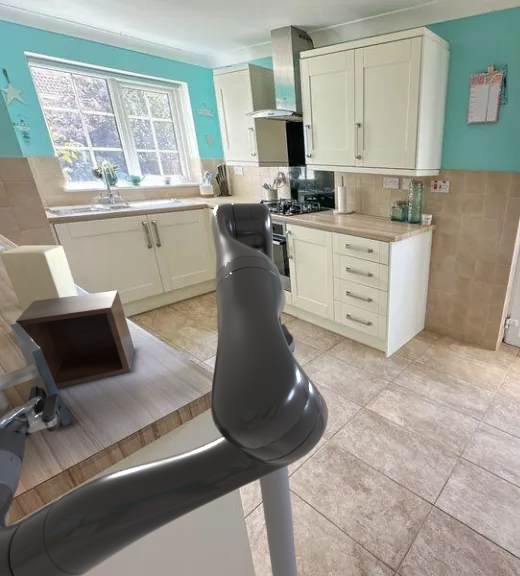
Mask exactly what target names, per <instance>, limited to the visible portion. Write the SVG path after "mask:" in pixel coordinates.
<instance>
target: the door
mask: <svg viewBox="0 0 520 576" xmlns="http://www.w3.org/2000/svg"><path fill="white" fill-rule="evenodd" d="M9 326H10V329H11V331H12V334H13V336H14V337H15V340H16V342H17V345H18V346H19V349H20V351H21V353H22V356H23V358H24V361H25V362H26V364H27V365H26V366H24V367H21V368H18V369H15V370H12V371H9V372H6V373H3V374H0V417H3V416H5V415H6V414H7V413H9V412H10V411H11V410H12V409H11V407H10V404H9V402H8V400H7V398H6V396H5V393H4V392H3V390H6V389H8V388H12V387H14V386H17V385H20V384H23V383H26V382H29V381H31V380H33V381H34V383H35V385H36V386H38V388H43V389H44V391H45V393H46V395H47V396H46V398H47V397H48V396H49V395H52V394H57V395H58V399H59V401H60V404H61V405H62V412H61V417H60V422H59V423H60V424H61V425H62V426H63V427H66V426H68V425H70V424H71V423H72V420H71V418H70V416H69V413H68V411H67V408H66V406H65V404H64V401H63V399H62V396H61V393H60V392H59V389H58V388H57V387H56V384H55V382H54V379H53V377H52V375H51V372H50V370H49V367H48V365H47V363H46V360H45V358H44V356H43V353H42V351H41V349H40V348H39V347H38V345H37V344H36V343H35V342H34V341H33V340H32V338H31V337H30V336H29V335H28V334H27V333H26V331H25V330H24V329H23V328H22V327H21V326H20V324H19V323H16V322H15V323H12V324H9ZM33 411H34V410H33V408H32V409H31V413H32V412H33ZM15 419H18V417H16V418H15ZM18 420H19V419H18Z"/></svg>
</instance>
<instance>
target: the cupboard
mask: <svg viewBox="0 0 520 576" xmlns="http://www.w3.org/2000/svg"><path fill="white" fill-rule="evenodd" d="M15 323H19V324H20V326H21V327H22V328H23V329H24V330H25V331H26V333H27V334H28V335H29V336H30V337H31V338H32V340H33V341H34V342H35V343H36V344H37V345H38V347H39V348H40V349H41V351H42V353H43V356H44V358H45V360H46V363H47V365H48V367H49V370H50V372H51V375H52V377H53V379H54V382H55V384H56V387H57V389H58V388H63V387H67V386H68V387H69V386H72V385H76V384H77V385H78V384H81V383H84V382H85V383H86V382H89V381H94V380H98V379H103V378H108V377H112V376H117V375H122V374H127V373H130V372H131V370H132V365H133V360H134V357H135V356H134V355H135V349H136V348H135V345H134V342H133V339H132V335H131V332H130V327H129V324H128V322H127V317H126V314H125V311H124V308H123V304H122V300H121V298H120V293H119V291H118V290H110V291H102V292H93V293H86V294H78V295H77V296H69V297H61V298H53V299H45V300H37V301H33V302H32V303H31V304H30V306H29V307H28V308H27V309H26V310H25V311H24V312H23V311H22V313H21V314H20V315H19V317H18V318H17V319H16V320H15Z"/></svg>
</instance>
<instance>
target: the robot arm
mask: <svg viewBox="0 0 520 576" xmlns="http://www.w3.org/2000/svg"><path fill="white" fill-rule="evenodd" d="M210 223H211V224H210V225H211V226H210V227H211V233H212V240H213V245H214V252H215V279H214V280H215V281H214V283H215V284H214V285H215V301H216V313H217V315H216V325H217V344H216V352H215V353H216V354H215V360H214V367H213V375H212V383H211V391H210V392H211V394H210V412H211V417H212V421H213V424H214V426H215V428H216V430H217V431H218V432H219V434H220V435H221V436H219V437H217V438H216V439H213V440H211V441H209V442H207V443H205V444H202V445H200V446H197V447H195V448H192V449H190V450H186V451H184V452H181V453H178V454H173V455H171V456H170V455H169V456H166V457H162V458H160V459H155V460H151V461H148V462H143V463H140V464H137V465H133V466H129V467H125V468H122V469H118V470H115V471H113V472H110V473H107V474H104V475H102V476H99V477H97V478H94V479H92V480H91V481H88V482H86V483H84V484H83V485H80V486H78V487H77V488H74V489H72V490H71V491H69V492H68V493H65V494H64V495H62V496H61V497H59V498H58V499H55V500H54V501H52V502H51V503H48V504H47V505H45V506H44V507H42V508H40V509H38V510H37V511H35V512H33V513H31V514H30V515H28V516H26V517H25V518H23V519H22V520H20V521H17V522H16V523H12V524H10V525H9V522H10V516H11V512H12V507H13V500H14V497H15V495H16V492H17V490H18V487H19V483H20V480H21V479H20V478H21V474H22V473H21V472H22V466H23V462H24V456H25V450H26V442H27V439H28V438H29V437H30V436H31V435H32V434H33V433H36V432H38V431H41V430H46V431H47V432H49V433H50V432H54V431H56V430H57V429H59V427H60V423H61V422H60V417H61V412H62V405H61V404H60V401H59V399H58V395H57V394H52V395H49V396H48V397H47V398H46V396H47V395H46V393H45V391H44V389H43V388H38V386H37V385H36V386H35V385H34V386H31V387H30V390H29V395H28V401H27V402H26V403H24V404H23V405H22V406H21V405H20V406H19V405H18V406H15V407H14V408H13V409H11V411H10V412H9V413H7V414H6V415H5V416H3V417H0V576H84V575H86V574H87V573H88V572H90V571H91V570H93V569H95V568H97V567H98V566H100V565H101V564H103V563H104V562H105V561H107V560H109V559H111V558H112V557H114V556H115V555H117V554H118V553H119V552H121V551H123V550H125V549H126V548H128V547H129V546H131V545H133V544H134V543H135V542H137V541H139V540H141V539H143V538H145V537H146V536H148V535H150V534H152V533H153V532H155V531H157V530H159V529H161V528H163V527H164V526H166V525H169V524H170V523H172V522H174V521H176V520H178V519H180V518H182V517H184V516H186V515H187V514H190V513H191V512H193V511H195V510H197V509H199V508H201V507H204V506H205V505H207V504H210V503H211V502H214V501H216V500H217V499H220V498H222V497H225V496H226V495H228V494H230V493H232V492H235V491H237V490H238V489H240V488H243V487H244V486H247V485H249V484H252V483H253V482H256V481H258V480H259V479H260V478H263V477H265V476H267V475H269V474H272V473H274V472H276V471H278V470H280V469H282V468H284V467H286V466H288V467H289V466H290V465H292V464H294V463H296V462H297V461H299V460H301V459H302V458H304V457H306V456H307V455H308V454H309V453H310V452H311V451H312V450H314V448H315V447H316V446H317V445H318V444H319V442H320V441H321V439H322V438H323V436H324V434H325V432H326V428H327V426H328V422H329V421H328V420H329V409H328V404H327V402H326V400H325V397H324V396H323V394H322V393H321V391H320V390H319V389H318V387H317V386H316V385H315V384H314V382H313V381H312V380H311V378H310V377H309V376H308V374H307V373H306V371H305V369H303V367H302V366H301V364H300V363H299V361H298V360H297V359H296V357H295V356H294V355H293V354H292V352H291V350H290V348H289V346H290V345H291V343H292V342H293V341H294V336H293V334H291V333H290V331H289V329H288V328H287V326H286V324H285V323H282V319H281V318H282V317H281V315H282V314H283V311H284V309H285V307H286V306H285V305H286V294H285V287H284V284H283V281H282V278H281V274H280V271H279V268H278V267H277V265H276V263H275V261H274V240H273V239H274V230H273V219H272V213H271V211H270V208H269V207H268V205H267V204H265V203H261V202H233V203H230V202H229V203H227V202H226V203H221V204H218V205H216V206H215V207H214V208H213V210H212V214H211V221H210ZM32 408H33V410H34V411H33V412H32V413H31V409H32ZM16 417H18V419H19V420H18V419H15V418H16Z"/></svg>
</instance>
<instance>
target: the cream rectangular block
mask: <svg viewBox="0 0 520 576" xmlns="http://www.w3.org/2000/svg"><path fill="white" fill-rule="evenodd" d="M0 259H1V261H2V263H3V266H4V269H5V271H6V274H7V276H8V279H9V281H10V284H11V286H12V288H13V291H14V293H15V297H16V298H17V302H18V304H19V306H20V309H21V311H22V313H23V312H24V311H25V310H26V309H27V308H28V307H29V306H30V304H31V303H32V302H33V301H37V300H45V299H53V298H61V297H69V296H77V295H79V294H78V289H77V287H76V283H75V281H74V278H73V274H72V272H71V268H70V265H69V262H68V259H67V256H66V252H65V250H64V246H63V245H55V244H54V245H51V244H50V245H49V244H48V245H44V244H43V245H19V246H16V247H14V248H10V249H7V250H5V251H2V252H0Z"/></svg>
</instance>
